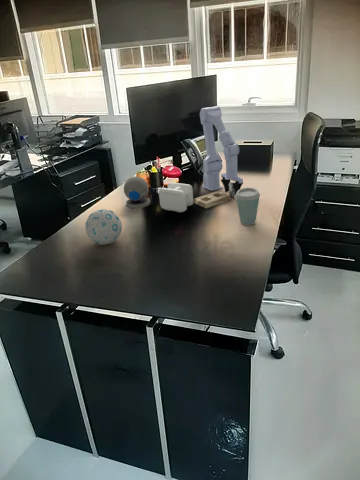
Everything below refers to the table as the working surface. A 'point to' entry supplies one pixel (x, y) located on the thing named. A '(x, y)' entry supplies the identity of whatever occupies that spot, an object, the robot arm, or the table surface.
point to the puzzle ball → (103, 226)
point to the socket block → (212, 199)
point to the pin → (231, 190)
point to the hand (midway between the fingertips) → (231, 193)
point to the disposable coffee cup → (247, 205)
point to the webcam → (136, 192)
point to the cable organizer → (176, 197)
